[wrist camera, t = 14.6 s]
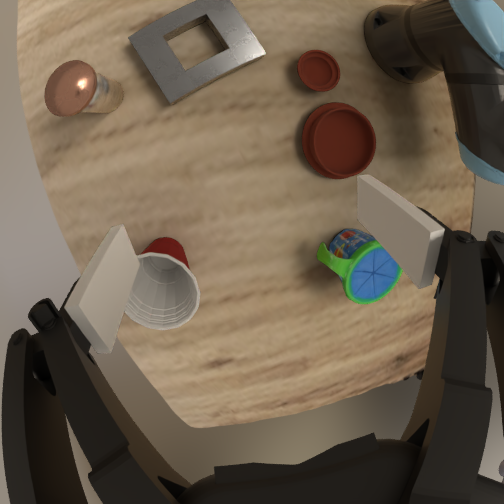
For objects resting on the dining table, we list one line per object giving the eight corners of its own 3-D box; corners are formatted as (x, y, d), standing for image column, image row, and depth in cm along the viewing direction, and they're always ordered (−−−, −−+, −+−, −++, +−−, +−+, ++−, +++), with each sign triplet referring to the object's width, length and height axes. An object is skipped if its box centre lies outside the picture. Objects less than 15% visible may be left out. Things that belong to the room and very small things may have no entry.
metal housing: (220, -2, 26) (222, -11, 24) (261, 58, 32) (266, 53, 29) (132, 43, 28) (127, 37, 25) (172, 105, 33) (169, 103, 30)
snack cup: (389, 234, 48) (422, 258, 39) (363, 281, 52) (390, 311, 43) (324, 204, 43) (354, 227, 34) (297, 261, 47) (318, 295, 38)
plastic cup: (180, 207, 40) (172, 240, 29) (211, 266, 45) (215, 312, 34) (120, 238, 40) (96, 278, 29) (154, 291, 45) (144, 340, 34)
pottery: (310, 186, 42) (321, 193, 38) (267, 63, 33) (275, 56, 29) (372, 164, 42) (387, 169, 38) (337, 48, 32) (351, 42, 29)
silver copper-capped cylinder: (115, 69, 29) (79, 49, 17) (134, 99, 32) (103, 89, 20) (82, 94, 29) (37, 88, 18) (100, 124, 32) (59, 128, 21)
